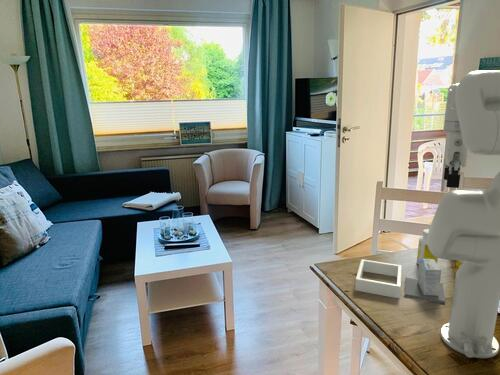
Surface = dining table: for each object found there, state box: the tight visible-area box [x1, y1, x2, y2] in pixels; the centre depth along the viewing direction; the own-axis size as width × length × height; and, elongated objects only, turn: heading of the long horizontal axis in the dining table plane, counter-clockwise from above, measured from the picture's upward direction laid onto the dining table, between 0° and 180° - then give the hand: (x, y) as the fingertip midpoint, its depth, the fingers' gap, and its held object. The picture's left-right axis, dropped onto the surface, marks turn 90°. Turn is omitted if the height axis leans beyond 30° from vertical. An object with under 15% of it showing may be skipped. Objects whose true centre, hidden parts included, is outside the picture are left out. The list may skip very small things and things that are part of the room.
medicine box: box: [417, 259, 442, 296], centre depth 113 cm, size 8×4×9 cm, turn 168°
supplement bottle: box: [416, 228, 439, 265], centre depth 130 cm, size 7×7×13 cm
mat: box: [404, 277, 446, 304], centre depth 114 cm, size 11×11×1 cm
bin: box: [354, 259, 402, 299], centre depth 119 cm, size 15×13×4 cm
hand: (450, 183), depth 112 cm, fingers open, 9 cm apart
